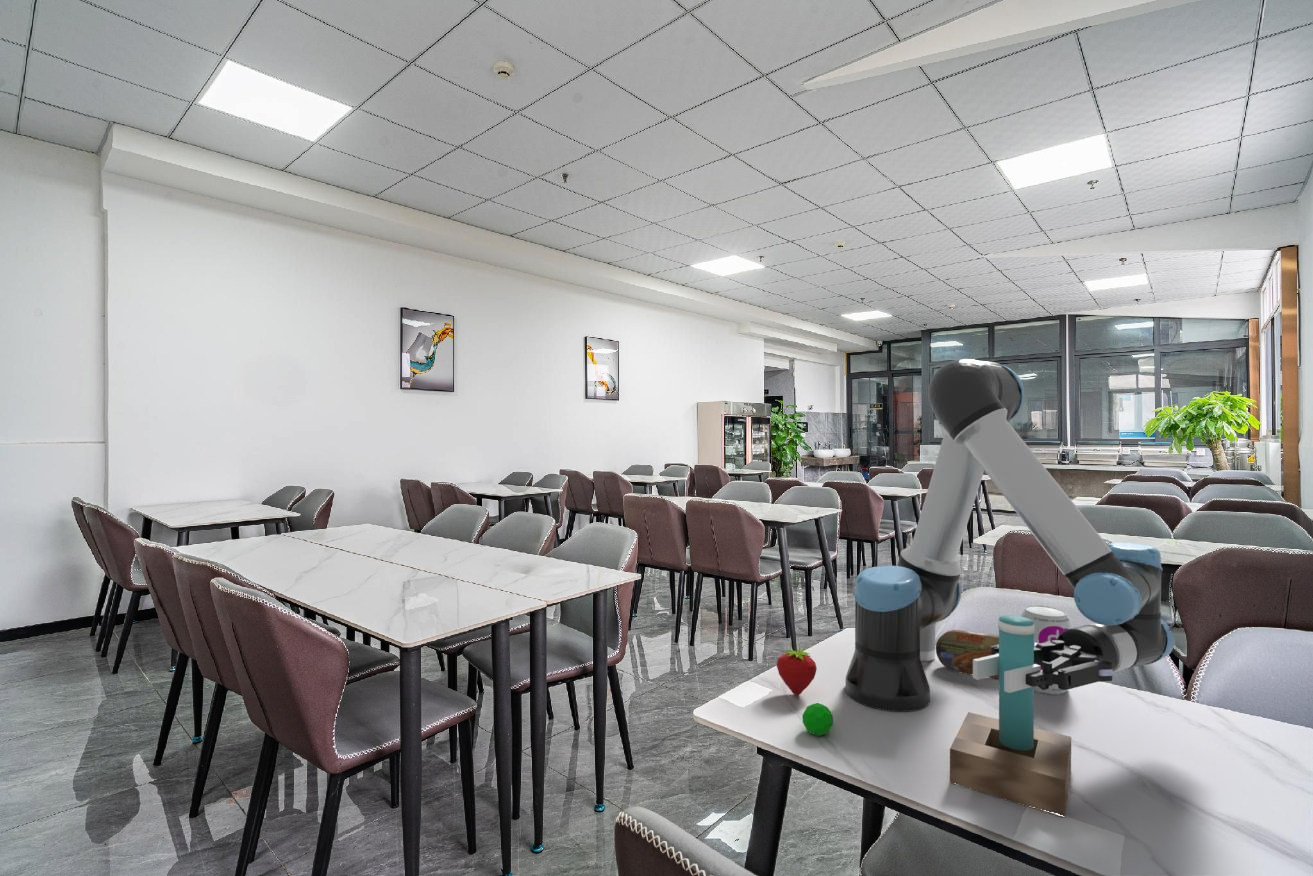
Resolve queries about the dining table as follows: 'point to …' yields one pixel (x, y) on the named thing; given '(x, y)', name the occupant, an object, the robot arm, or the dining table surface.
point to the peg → (1018, 704)
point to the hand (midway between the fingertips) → (990, 675)
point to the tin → (964, 649)
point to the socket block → (1012, 765)
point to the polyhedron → (818, 719)
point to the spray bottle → (927, 643)
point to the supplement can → (1047, 632)
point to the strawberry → (796, 670)
